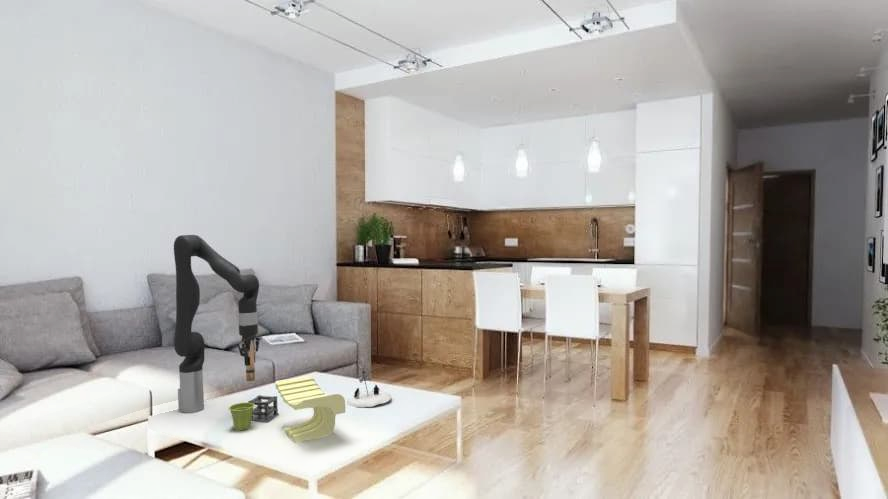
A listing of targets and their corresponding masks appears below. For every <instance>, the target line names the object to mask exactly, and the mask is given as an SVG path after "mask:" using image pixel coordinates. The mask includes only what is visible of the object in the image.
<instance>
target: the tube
mask: <svg viewBox="0 0 888 499" xmlns="http://www.w3.org/2000/svg"><path fill="white" fill-rule="evenodd" d="M246 349H249V348H246ZM247 354H248V351H247ZM255 366H256V364H255V363H254V342H252V348H251V351H250V365H249V366H245V375H246V382H253V381H255V380H256V369H255Z"/></svg>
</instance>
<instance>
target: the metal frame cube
mask: <svg viewBox="0 0 888 499" xmlns="http://www.w3.org/2000/svg"><path fill="white" fill-rule="evenodd" d="M262 400H264V401H262ZM247 403H253V404H254V406H256V407H253V411H252V420H251V421H255V423H267V424H268V423H270V422H271V421H272V420H274V419H275V418H277V417H278V416H279V412H278V396H275V395H274V396H269V395H268V396H267V395H259V394H258V395H257V396H256V397H254V398H253V399H251V400H249V401H247ZM270 404H273V405H270ZM263 410H264V411H263Z"/></svg>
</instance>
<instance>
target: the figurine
mask: <svg viewBox="0 0 888 499" xmlns="http://www.w3.org/2000/svg"><path fill="white" fill-rule="evenodd" d="M365 369H366V368H365V367H363V366H359V372H361V373H362V374H361V375H359V373H358V374H357V373H354V375H355V377H357V378H358V380H359V383H363V382H364V384H365V389H366V391H361V392H360V387H358V388H356V390H355V391H354V395H352V396H351V397H350V398H348V399H347V402H346V404H347V406H350V407H356V408H366V407H367V408H370V407H375V406H377V405H380V404H385V403H387V402H389V401H390V400H391V399H392V395H391V393H389V392H387V391H381V390H380V388H379V387H378V385H377V384H374V387H373V388H372V390H368V387H367V382H366V381H368V380H369V379H370V378H371V374H370V372H368V373H367V372H366V370H365ZM366 377H367V378H366Z"/></svg>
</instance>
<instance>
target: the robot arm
mask: <svg viewBox="0 0 888 499" xmlns="http://www.w3.org/2000/svg"><path fill="white" fill-rule="evenodd" d="M173 255H174V263H175V281H176V283H175V284H176V285H175V293H176V294H175V302H176V307H175V308H176V310H175V329H174V330H175V331H174V339H173V345H174V346H173V348H174V351H175V353H176V354H177V355H178V356H179V357H182V358H183V357H184V359H183V361H182V362H181V363H180V364H179V366H178V369H179V370H178V371H179V387H178V388H177V403H178V412H182V413H185V414H187V413H196V412H197V413H198V412H200V411H203V410H204V408H205V400H204V398H205V397H204V396H205V395H204V374H203V373H204V372H203V366H204V363H205V350H206V349H205V339H204V337H203V335H202V334H201V333H199V331H192V326H193V325H192V324H193V321H194V318H195V316H196V313H197V311H198V309H199V306H200V302H201V301H200V300H201V290H200V285H199V282H198V280H197V278H196V277H195V275H194V274H195V273H194V272H193V269H192V257H196V258H197V257H198V258H200V259H202V260H203V261H205V262H206V263H208V265H209V267H210V268H211V270H212V271H213V272H214V273H215V274H216V275H217V276H219V277H220V278H222V279H223V280H225V281H226V282H227V283H228V284H229V286H231V287H232V289H233V290H234V291H236V292H238V293H240V294H241V293H242V294H243V296H242V297H241V298H240V299H239V300H238V318H237V320H238V335H240V337H241V342H240V343H237V347H238V351H239V354H240V356H241V357H243V358H244V360H243V361H244V367H246V366H249V365H250V351H251V348H252V342H254V364H255V363H256V354H257V352H258V351H259V348H260V339H261V338H260V337H258V336H257V335H258V334H259V321H258V320H259V319H258V312H257V311H258V310H257V300H258V295H259V290H260V281H259V279H258V277H257V276H256V275H255V274H250V273H249V274H241V270H240V268H239V267H238V266H236V265H235V264H234V263H232V262H230V261H228V259H227V258H225V257H223V256H222V255H220V254H219V253H218V252H217V251H216V250H215V249H214V248H212V246H210V245H209V243H207V242H206V240H204V239H203V238H202V237H201V236H199V235H196V234H184V235H183V234H182V235H178V236H177V237H176V238H175V240H174V243H173ZM246 348H249V349H246ZM247 351H248V354H247Z"/></svg>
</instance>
